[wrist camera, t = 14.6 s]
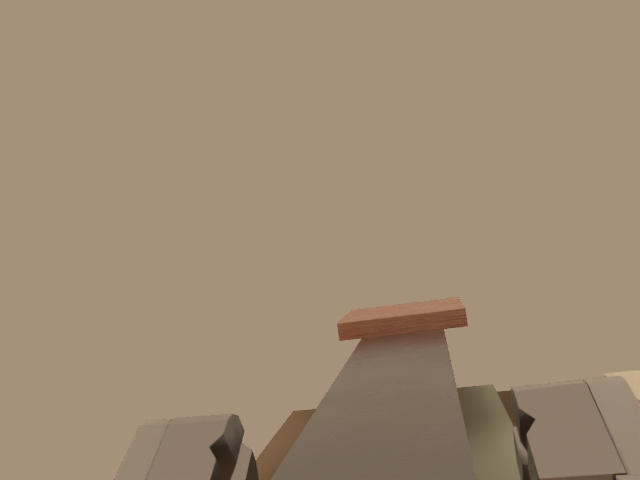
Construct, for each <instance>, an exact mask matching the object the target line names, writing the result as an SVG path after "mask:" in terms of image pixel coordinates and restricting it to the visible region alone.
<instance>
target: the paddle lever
mask: <svg viewBox="0 0 640 480" xmlns="http://www.w3.org/2000/svg"><path fill="white" fill-rule="evenodd" d="M337 326H338V333H339V340H340V341H342V340H351V339H359V338H362V339H361V341H360V342H359V344H358V346H357V347H356V349H355V350H354V352H353V353H352V355H351V356H350V358H349V359H348V361H347V363H346V364H345V365H344V367H343V369H342V370H341V372H340V373H339V375H338V376H337V378H336V379H335V381H334V382H333V384H332V386H331V387H330V389H329V390H328V392H327V393H326V395H325V396H324V398H323V399H322V401H321V403H320V404H319V406H318V407H317V409H316V410H315V412H314V413H313V415H312V416H311V418H310V420H309V421H308V423H307V424H306V426H305V427H304V429H303V430H302V432H301V433H300V435H299V437H298V438H297V440H296V441H295V443H294V444H293V446H292V447H291V449H290V450H289V452H288V454H287V455H286V457H285V458H284V460H283V461H282V463H281V464H280V466H279V468H278V469H277V471H276V472H275V474H274V475H273V477H272V478H271V480H477V479H476V474H475V470H474V465H473V460H472V456H471V451H470V447H469V442H468V438H467V433H466V429H465V424H464V419H463V415H462V410H461V406H460V401H459V397H458V392H457V388H456V383H455V379H454V374H453V369H452V365H451V360H450V355H449V351H448V346H447V342H446V337H445V333H444V329H447V328H455V327H464V326H468V325H467V318H466V311H465V307H464V306H463V304H462V302H461V301H460V299H459V298H458V297H457V298H448V299H440V300H432V301H424V302H416V303H408V304H399V305H392V306H383V307H376V308H367V309H359V310H351V311H350V312H349V313H348V314H347V315H346V316H345V317H344V318H343V319H342V320H341V321H340V322H339V323H337Z"/></svg>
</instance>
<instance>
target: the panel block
mask: <svg viewBox="0 0 640 480" xmlns="http://www.w3.org/2000/svg"><path fill="white" fill-rule="evenodd" d="M612 376H621V377H623V378H624V379H625V380H627V382H628V384H629V386H630V388H631V390H632V392H633V393H634V395H635V397H636V399H637V401H638V403H639V404H640V370H637V371H626V372H616V373H606V374H603V377H612ZM457 392H458V397H459V401H460V406H461V410H462V415H463V419H464V424H465V429H466V433H467V438H468V442H469V447H470V451H471V456H472V460H473V465H474V470H475V474H476V479H477V480H521V479H520V474H519V470H518V465H517V459H516V452H515V445H514V436H513V428H514V427H515V426H516V423H515V419H514V416H513V412H512V408H511V395H510V393H511V391H502V392H497V391H496V389H495V387H494V385H493V384H492V385H483V386H473V387H462V388H457ZM315 410H316V409H312V410H301V411H293V412H292V414H291V415H290V416H289V418H288V419H287V421H285V423H284V424H283V425H282V427H281V428H280V429H279V431H278V432H277V433H276V435H275V436H274V437H273V438H272V440H271V441H270V442H269V444H268V445H267V446H266V448H265V449H264V450H263V452H262V453H261V454H260V456H259V457H258V458H257V460H256V465H257V470H258V480H271V478H272V477H273V475H274V474H275V472H276V471H277V469H278V468H279V466H280V464H281V463H282V461H283V460H284V458H285V457H286V455H287V454H288V452H289V450H290V449H291V447H292V446H293V444H294V443H295V441H296V440H297V438H298V437H299V435H300V433H301V432H302V430H303V429H304V427H305V426H306V424H307V423H308V421H309V420H310V418H311V416H312V415H313V413H314V412H315Z"/></svg>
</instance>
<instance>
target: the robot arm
mask: <svg viewBox="0 0 640 480" xmlns="http://www.w3.org/2000/svg"><path fill="white" fill-rule="evenodd" d="M510 395H511V408H512V412H513V416H514V419H515V423H516V426H515V427H514V428H513V436H514V445H515V452H516V459H517V465H518V470H519V474H520V479H521V480H640V404H639V403H638V401H637V399H636V397H635V395H634V393H633V392H632V390H631V388H630V386H629V384H628V382H627V380H625V379H624V378H623V377H621V376H612V377H603V378H593V379H584V380H583V381H581V380H576V381H566V382H557V383H547V384H537V385H527V386H518V387H511V393H510ZM243 435H244V428H243V426H242V424H241V422H240V419H239V417H238V416H237V415H234V414H226V415H211V416H197V417H183V418H174V419H163V420H148V421H145V422H144V423H143V424H142V425H141V426H139V427H138V429H137V431H136V433H135V435H134V437H133V440H132V442H131V444H130V446H129V448H128V450H127V453H126V455H125V457H124V459H123V461H122V463H121V466H120V468H119V470H118V472H117V474H116V476H115V478H114V480H258V470H257V465H256V460H255V458H254V455H253V452H252V450H251V449H249V448H248V447H246V446H245V445H244V444H242V439H243Z"/></svg>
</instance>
